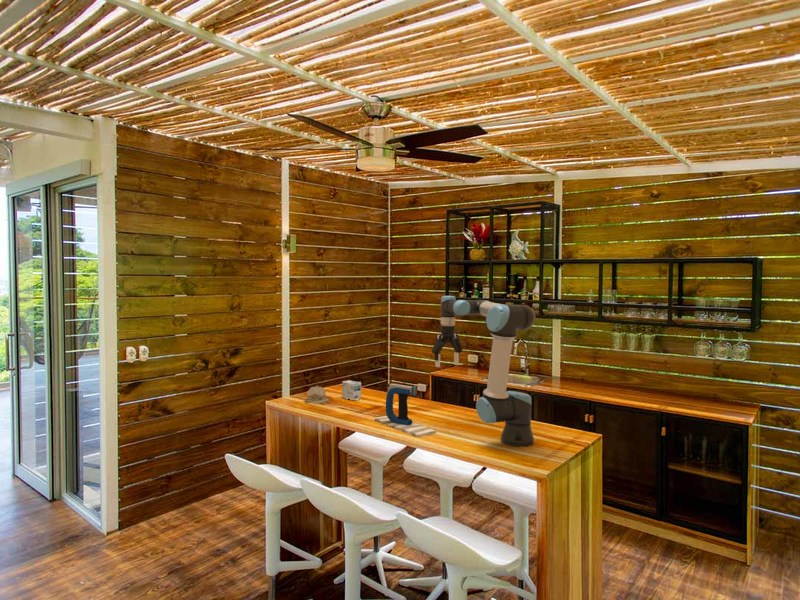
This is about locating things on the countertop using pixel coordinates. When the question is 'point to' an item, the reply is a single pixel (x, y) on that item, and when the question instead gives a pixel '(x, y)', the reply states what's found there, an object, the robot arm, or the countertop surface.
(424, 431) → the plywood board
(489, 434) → the countertop surface
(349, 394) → the light bulb box
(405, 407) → the handheld scanner
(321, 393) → the ceramic model
